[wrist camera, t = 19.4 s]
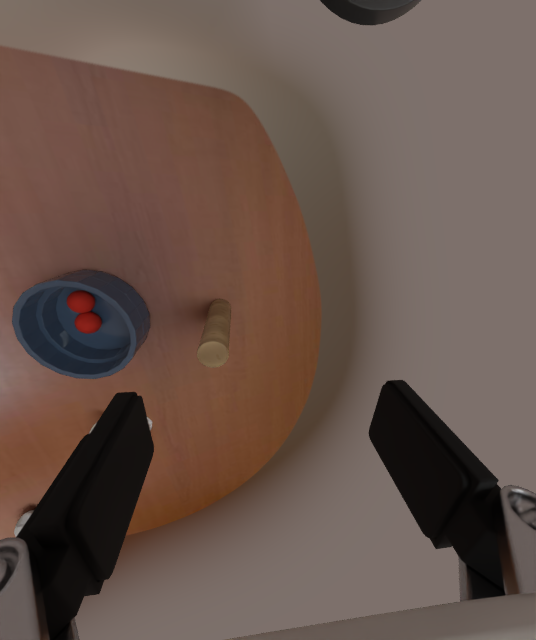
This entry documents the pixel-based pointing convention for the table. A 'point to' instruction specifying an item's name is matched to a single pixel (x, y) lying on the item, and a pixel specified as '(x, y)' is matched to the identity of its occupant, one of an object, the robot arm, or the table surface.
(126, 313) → the bowl
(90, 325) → the ball
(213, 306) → the stick
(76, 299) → the ball
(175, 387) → the table surface
